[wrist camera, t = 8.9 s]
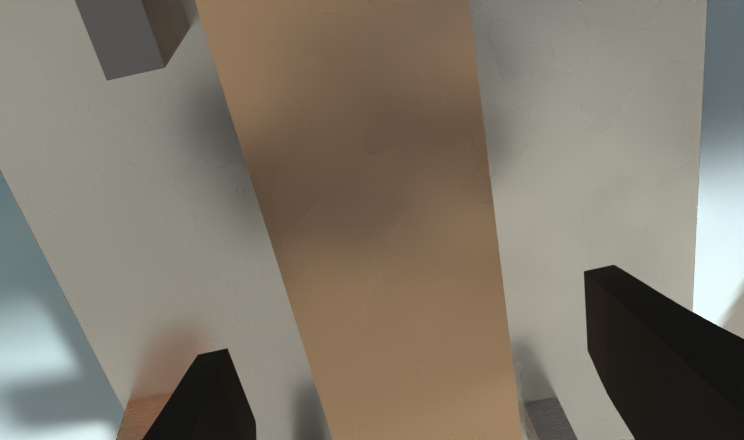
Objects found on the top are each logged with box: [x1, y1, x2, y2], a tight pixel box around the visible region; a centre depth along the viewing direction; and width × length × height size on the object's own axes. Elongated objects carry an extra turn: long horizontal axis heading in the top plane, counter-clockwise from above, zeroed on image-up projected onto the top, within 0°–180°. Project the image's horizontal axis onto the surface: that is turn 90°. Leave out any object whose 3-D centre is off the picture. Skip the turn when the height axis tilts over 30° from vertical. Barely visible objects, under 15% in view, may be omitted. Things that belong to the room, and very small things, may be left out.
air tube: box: [195, 0, 522, 440], centre depth 15 cm, size 18×4×4 cm, turn 11°
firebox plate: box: [0, 0, 707, 440], centre depth 16 cm, size 16×24×5 cm, turn 11°
